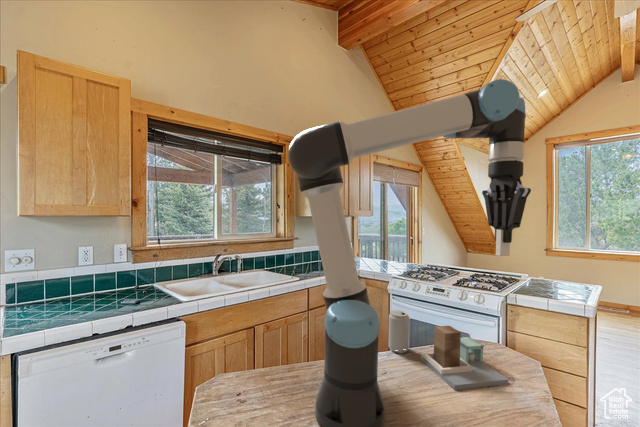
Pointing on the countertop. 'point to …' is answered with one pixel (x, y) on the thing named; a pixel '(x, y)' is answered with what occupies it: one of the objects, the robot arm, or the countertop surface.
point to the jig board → (466, 373)
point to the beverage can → (398, 331)
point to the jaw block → (447, 346)
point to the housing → (470, 349)
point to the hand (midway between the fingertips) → (502, 255)
